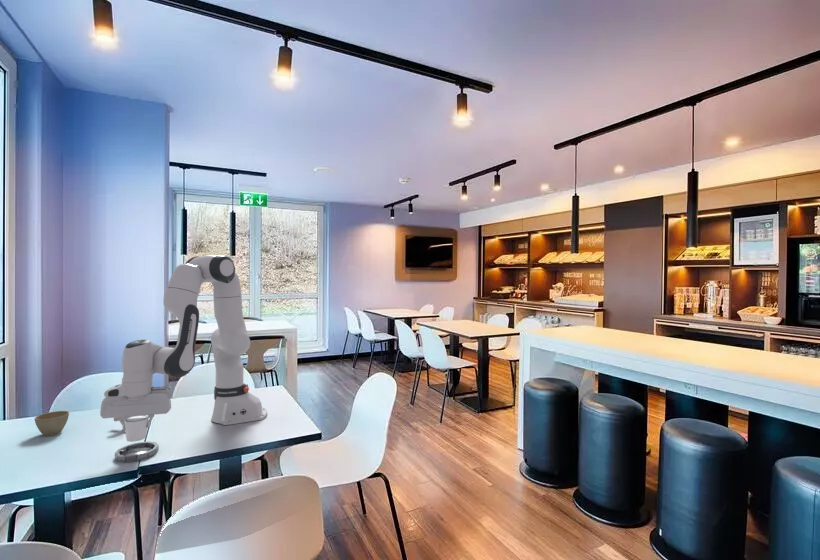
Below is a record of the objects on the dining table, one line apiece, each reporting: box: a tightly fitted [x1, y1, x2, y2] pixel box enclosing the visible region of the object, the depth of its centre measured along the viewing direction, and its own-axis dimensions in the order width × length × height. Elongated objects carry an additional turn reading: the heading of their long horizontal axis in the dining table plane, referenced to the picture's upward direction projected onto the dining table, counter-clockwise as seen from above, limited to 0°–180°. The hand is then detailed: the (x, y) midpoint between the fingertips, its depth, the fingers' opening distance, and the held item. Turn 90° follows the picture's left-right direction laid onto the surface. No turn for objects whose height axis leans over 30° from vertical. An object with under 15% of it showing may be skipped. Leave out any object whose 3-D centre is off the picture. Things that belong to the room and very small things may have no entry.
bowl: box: [114, 441, 160, 463], centre depth 137 cm, size 12×12×2 cm
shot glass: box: [124, 415, 150, 443], centre depth 136 cm, size 7×7×7 cm
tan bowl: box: [34, 410, 70, 437], centre depth 153 cm, size 10×10×7 cm
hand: (136, 428), depth 136 cm, fingers closed on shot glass, 5 cm apart
